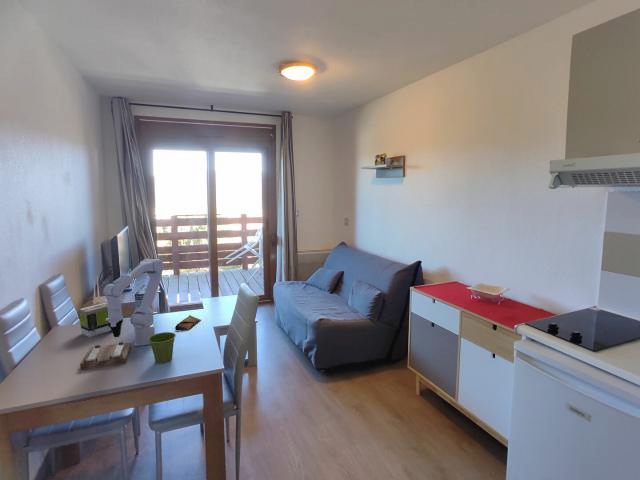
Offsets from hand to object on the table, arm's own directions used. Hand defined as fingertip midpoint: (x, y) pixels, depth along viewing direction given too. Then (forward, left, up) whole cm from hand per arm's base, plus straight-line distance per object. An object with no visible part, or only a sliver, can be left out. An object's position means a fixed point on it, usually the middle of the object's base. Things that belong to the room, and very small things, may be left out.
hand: (117, 336), depth 173 cm
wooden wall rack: (+4, +2, -9) cm, 10 cm away
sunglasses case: (-32, -29, -10) cm, 45 cm away
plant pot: (-21, +14, -10) cm, 27 cm away
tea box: (+15, -37, -10) cm, 41 cm away
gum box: (-9, -34, -10) cm, 36 cm away
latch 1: (+9, +4, -6) cm, 12 cm away
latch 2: (-1, +4, -6) cm, 7 cm away
